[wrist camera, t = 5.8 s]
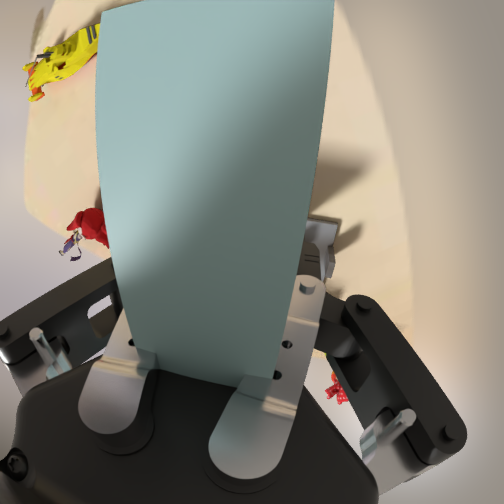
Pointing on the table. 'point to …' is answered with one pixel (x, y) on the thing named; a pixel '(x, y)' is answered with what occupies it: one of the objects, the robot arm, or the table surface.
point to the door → (210, 171)
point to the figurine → (87, 229)
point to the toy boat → (62, 60)
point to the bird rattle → (336, 390)
